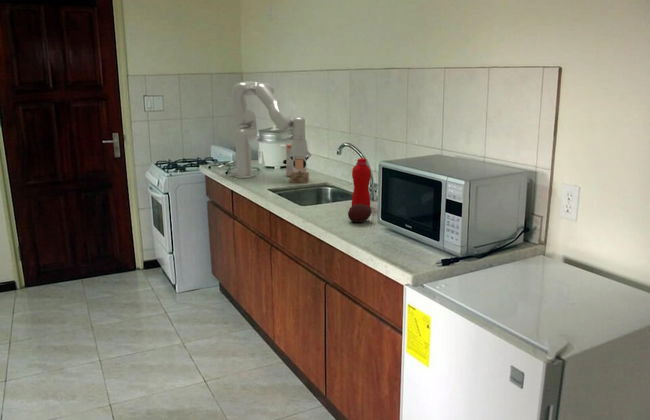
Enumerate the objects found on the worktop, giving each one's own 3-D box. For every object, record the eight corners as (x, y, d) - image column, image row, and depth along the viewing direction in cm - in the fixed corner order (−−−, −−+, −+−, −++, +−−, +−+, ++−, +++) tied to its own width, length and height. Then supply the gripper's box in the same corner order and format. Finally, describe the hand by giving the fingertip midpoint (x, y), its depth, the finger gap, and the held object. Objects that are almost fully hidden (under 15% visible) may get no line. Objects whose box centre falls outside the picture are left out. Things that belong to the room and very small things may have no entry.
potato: (359, 217, 249) (359, 200, 247) (377, 222, 241) (377, 204, 239) (341, 221, 242) (342, 204, 240) (359, 227, 234) (360, 208, 232)
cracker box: (293, 177, 342) (292, 144, 336) (286, 176, 345) (285, 144, 340) (306, 174, 352) (306, 142, 347) (299, 172, 356) (299, 141, 351)
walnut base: (290, 183, 324) (290, 175, 323) (292, 179, 334) (292, 171, 333) (306, 183, 323) (306, 175, 322) (308, 180, 333) (308, 172, 332)
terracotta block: (295, 169, 324) (294, 159, 323) (296, 167, 329) (296, 158, 328) (303, 169, 324) (303, 159, 322) (304, 168, 329) (304, 158, 327)
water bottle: (348, 205, 270) (348, 157, 264) (369, 205, 270) (370, 157, 264) (348, 210, 261) (348, 160, 255) (370, 210, 261) (371, 160, 255)
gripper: (284, 138, 319) (285, 168, 323) (312, 138, 317) (312, 168, 322) (286, 137, 326) (287, 166, 331) (313, 137, 324) (314, 166, 329)
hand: (299, 167), depth 326 cm, fingers closed on terracotta block, 5 cm apart
